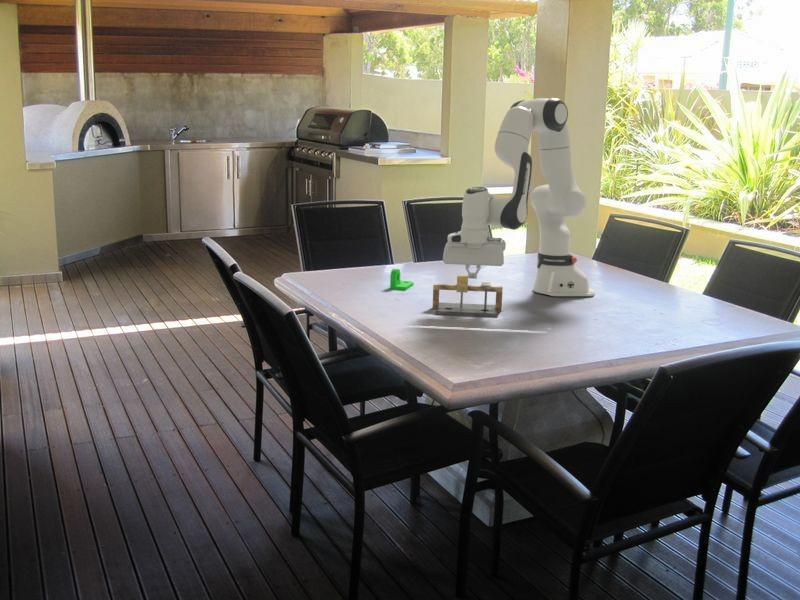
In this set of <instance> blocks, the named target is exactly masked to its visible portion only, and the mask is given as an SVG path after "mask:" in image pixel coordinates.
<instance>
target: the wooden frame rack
mask: <svg viewBox="0 0 800 600" xmlns="http://www.w3.org/2000/svg"><path fill="white" fill-rule="evenodd" d="M432 287H433V288H432V291H433V292H432V309H434V310H436V308H437V305H439V303H440V290H442V291H457V283H455V284H454V283H433V285H432ZM468 291H469V292H484V303H483V304H484V310H486V305H488V304H487V303H488V301H487V299H488V292H489V293H490V292H491V293H495V305H496V306H495V307H496V308H497V312H502V308H503V307H502V306H503V305H502V304H503V291H504V287H503V285H492V282H488V281H482V282H481V285H480V284H479V285H478V284H476V285H475V284H468ZM468 291H467V292H468Z"/></svg>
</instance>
